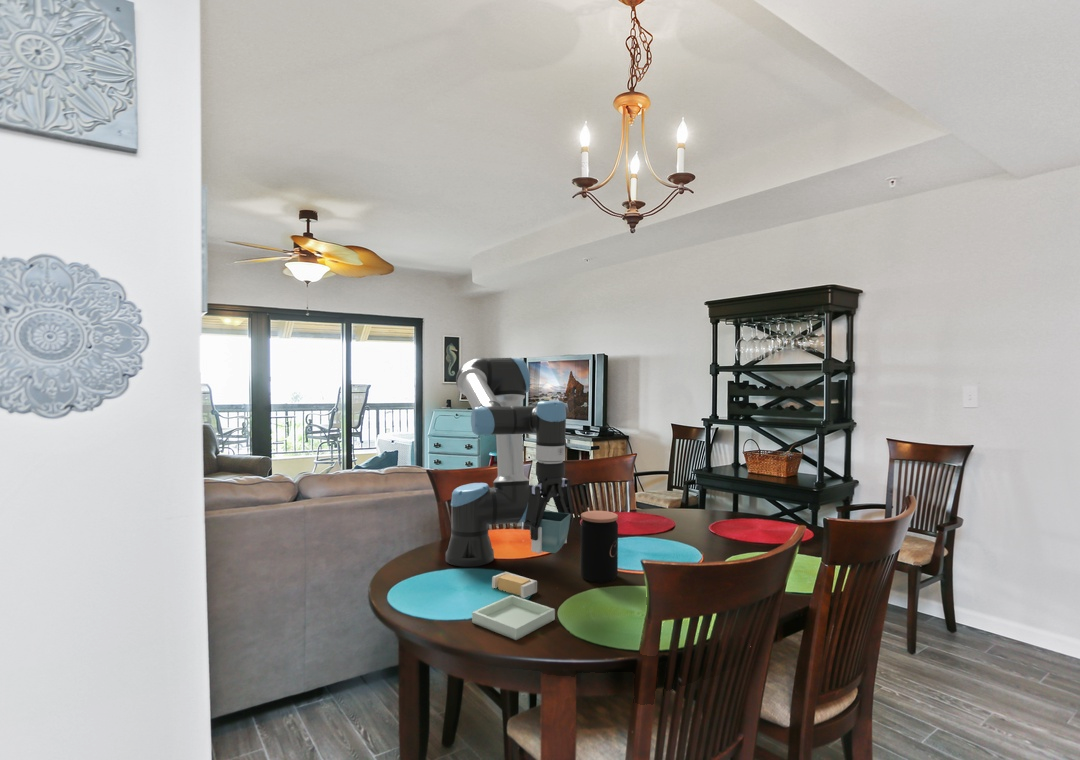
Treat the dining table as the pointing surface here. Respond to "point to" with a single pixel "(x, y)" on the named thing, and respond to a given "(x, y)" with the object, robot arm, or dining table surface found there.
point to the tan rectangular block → (511, 583)
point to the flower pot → (554, 530)
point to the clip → (525, 589)
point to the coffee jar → (599, 546)
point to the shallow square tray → (513, 616)
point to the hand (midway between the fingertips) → (549, 547)
